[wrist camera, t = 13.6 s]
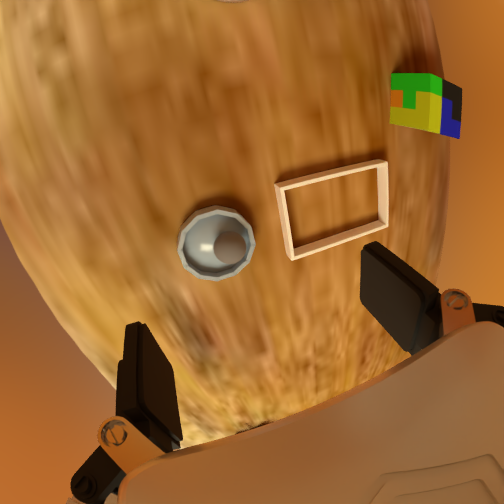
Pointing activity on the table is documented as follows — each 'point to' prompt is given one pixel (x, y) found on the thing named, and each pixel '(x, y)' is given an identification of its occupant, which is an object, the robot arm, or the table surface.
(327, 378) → the table surface
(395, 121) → the puzzle toy
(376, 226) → the white rectangular frame
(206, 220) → the bowl
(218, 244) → the ball
